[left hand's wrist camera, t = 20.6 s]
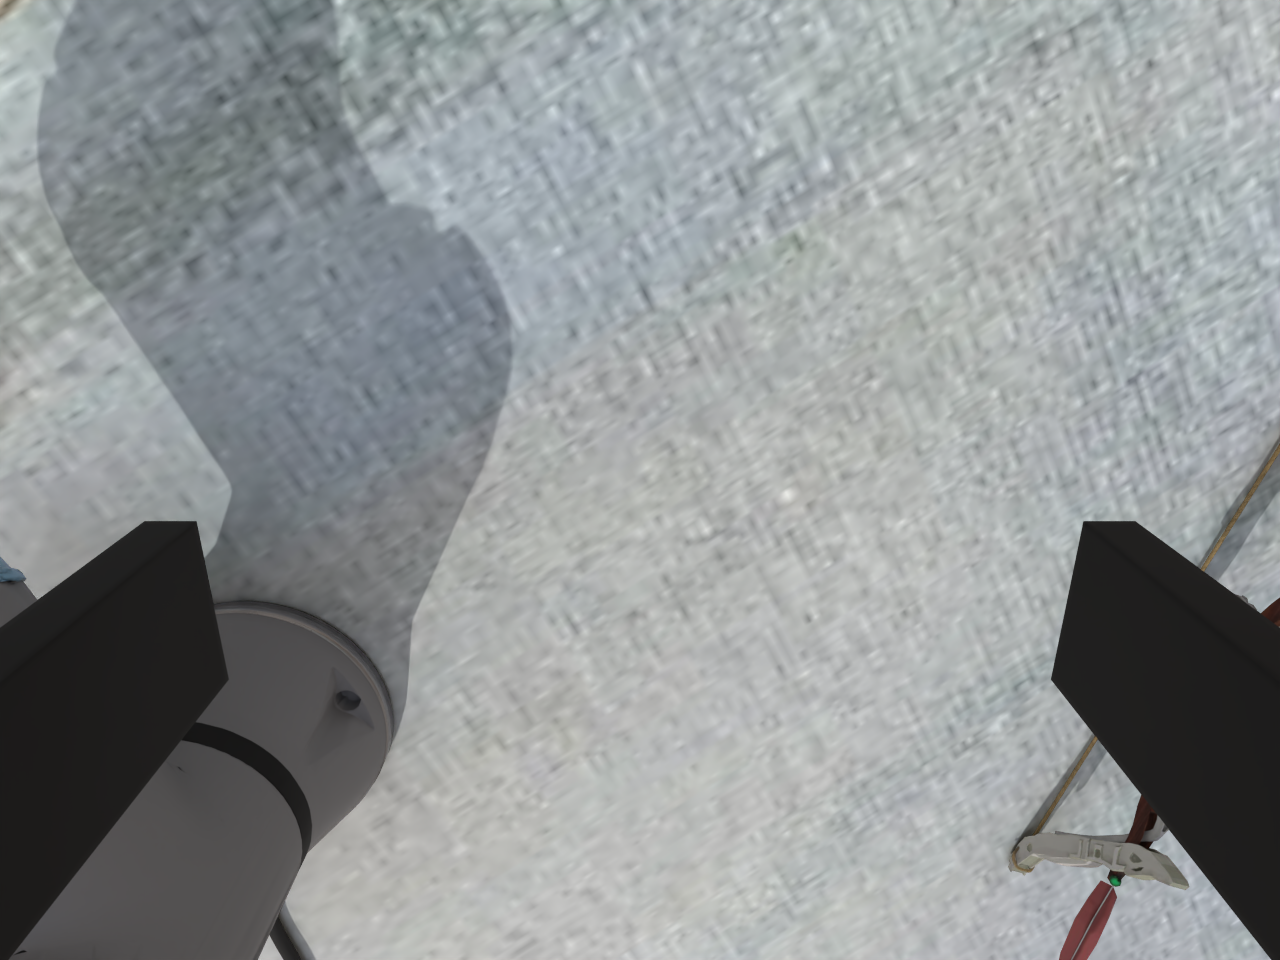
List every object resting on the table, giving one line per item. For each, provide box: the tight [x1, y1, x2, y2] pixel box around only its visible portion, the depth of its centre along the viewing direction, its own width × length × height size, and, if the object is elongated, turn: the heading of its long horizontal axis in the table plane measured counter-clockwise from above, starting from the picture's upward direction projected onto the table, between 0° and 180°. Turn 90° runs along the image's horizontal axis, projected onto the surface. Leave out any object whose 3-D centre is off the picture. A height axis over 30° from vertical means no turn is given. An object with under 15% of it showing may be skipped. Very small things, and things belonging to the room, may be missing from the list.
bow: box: [1008, 444, 1280, 960], centre depth 44 cm, size 39×2×10 cm, turn 162°
